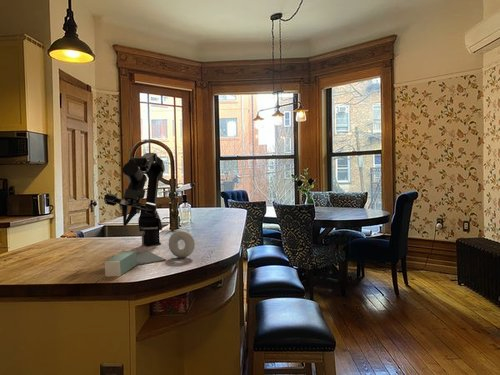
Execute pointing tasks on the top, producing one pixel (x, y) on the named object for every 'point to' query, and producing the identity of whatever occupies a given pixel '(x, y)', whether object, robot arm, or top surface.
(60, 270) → the top surface
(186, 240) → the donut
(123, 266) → the block
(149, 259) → the mat
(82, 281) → the top surface
